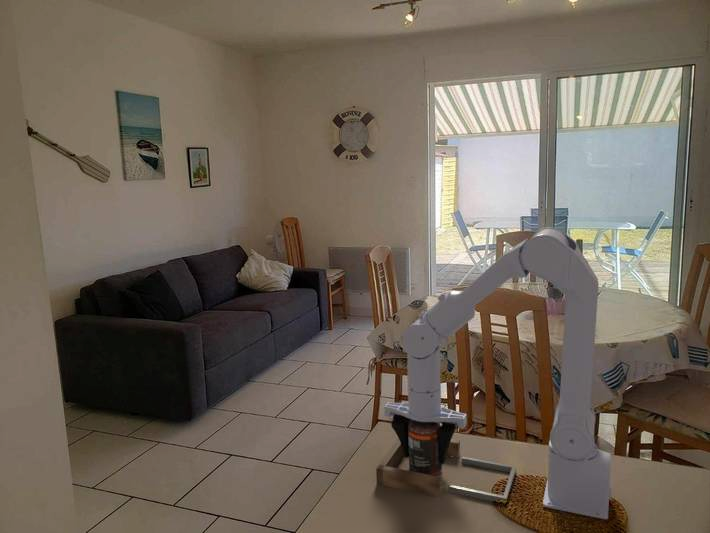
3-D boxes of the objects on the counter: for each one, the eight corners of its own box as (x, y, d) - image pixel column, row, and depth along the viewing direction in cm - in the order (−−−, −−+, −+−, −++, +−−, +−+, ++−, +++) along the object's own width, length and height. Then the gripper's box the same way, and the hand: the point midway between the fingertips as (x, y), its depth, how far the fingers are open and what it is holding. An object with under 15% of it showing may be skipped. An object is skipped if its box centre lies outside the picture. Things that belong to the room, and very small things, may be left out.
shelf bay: (459, 454, 105) (459, 440, 104) (438, 497, 92) (438, 481, 91) (404, 444, 109) (403, 430, 109) (376, 483, 96) (376, 468, 96)
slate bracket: (515, 471, 98) (516, 466, 98) (506, 504, 89) (506, 498, 89) (462, 461, 102) (462, 456, 102) (448, 491, 93) (448, 486, 93)
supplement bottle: (441, 461, 103) (440, 404, 101) (443, 479, 97) (442, 419, 95) (408, 460, 103) (407, 404, 101) (408, 479, 97) (407, 419, 95)
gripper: (470, 383, 98) (470, 454, 100) (393, 373, 104) (395, 440, 106) (461, 399, 91) (461, 474, 94) (379, 387, 97) (381, 458, 100)
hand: (425, 457), depth 100 cm, fingers closed on supplement bottle, 6 cm apart
